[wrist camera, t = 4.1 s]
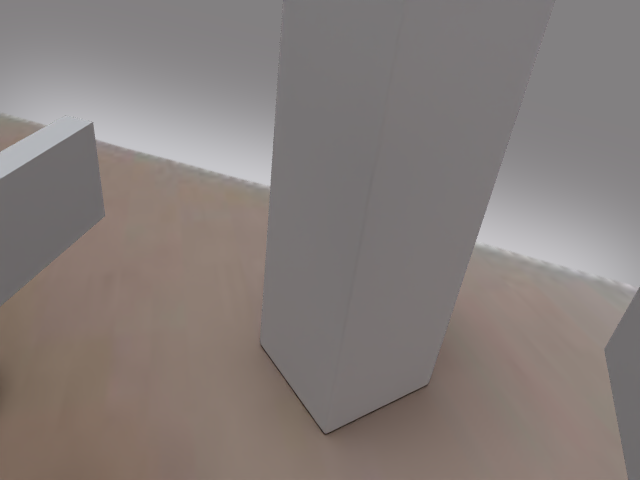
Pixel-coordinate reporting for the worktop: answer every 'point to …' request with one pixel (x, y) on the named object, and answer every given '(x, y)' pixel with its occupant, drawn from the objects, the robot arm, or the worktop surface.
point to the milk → (383, 184)
